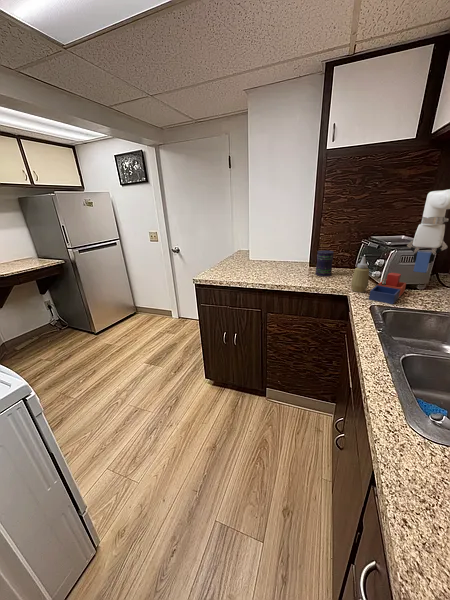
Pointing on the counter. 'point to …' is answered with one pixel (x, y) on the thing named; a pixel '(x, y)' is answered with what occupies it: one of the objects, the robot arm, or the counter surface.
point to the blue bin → (384, 294)
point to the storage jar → (324, 263)
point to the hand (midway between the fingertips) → (422, 261)
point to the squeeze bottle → (360, 277)
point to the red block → (393, 279)
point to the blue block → (422, 261)
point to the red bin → (401, 287)
